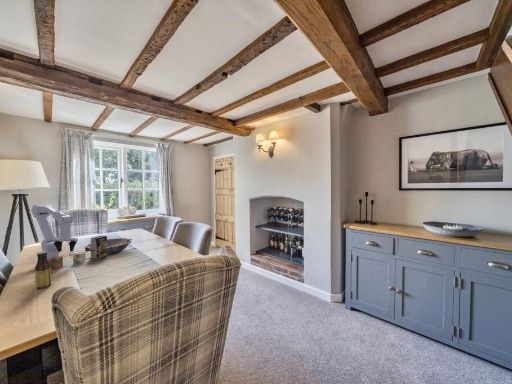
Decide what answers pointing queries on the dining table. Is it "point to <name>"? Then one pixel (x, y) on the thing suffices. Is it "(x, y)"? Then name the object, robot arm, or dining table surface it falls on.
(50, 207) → the robot arm
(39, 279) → the sauce bottle
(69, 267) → the board
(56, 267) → the walnut block
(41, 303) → the dining table surface
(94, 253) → the coffee box
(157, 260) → the dining table surface
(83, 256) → the birch block
